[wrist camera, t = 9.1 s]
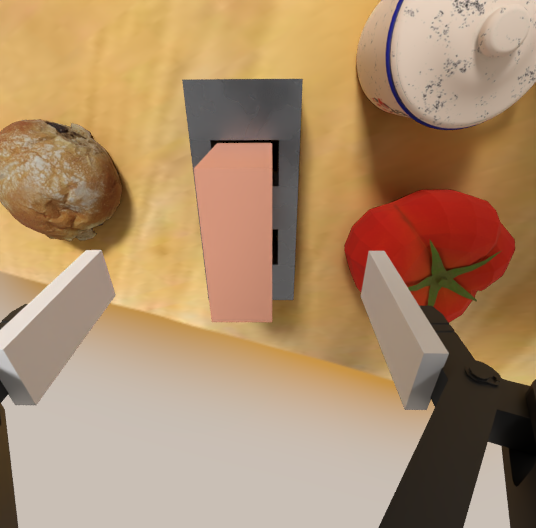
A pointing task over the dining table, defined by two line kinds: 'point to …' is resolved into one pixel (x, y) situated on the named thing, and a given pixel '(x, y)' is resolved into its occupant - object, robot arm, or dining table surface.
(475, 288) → the tomato
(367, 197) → the dining table surface
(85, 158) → the bread roll
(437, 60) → the teacup with lid
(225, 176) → the chamfered pink post
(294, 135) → the grey rectangular block
